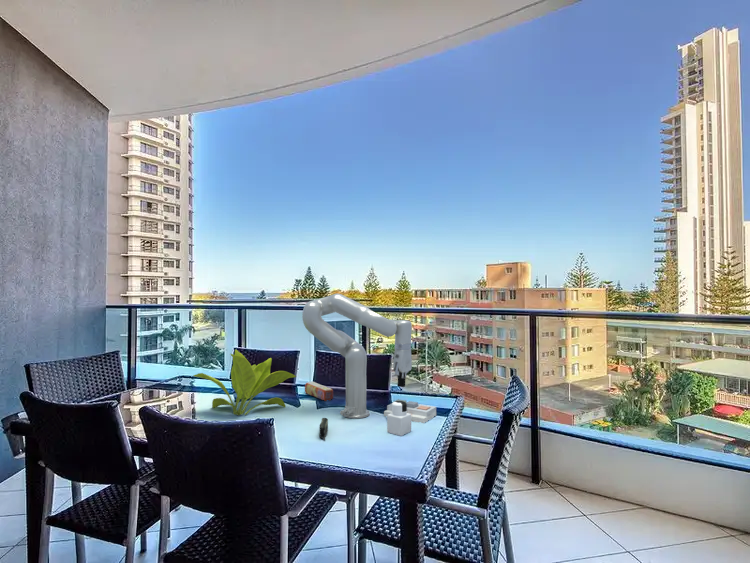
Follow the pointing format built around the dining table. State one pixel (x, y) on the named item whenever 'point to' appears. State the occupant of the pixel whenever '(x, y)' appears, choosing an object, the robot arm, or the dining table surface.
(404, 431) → the medicine bottle
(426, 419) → the white shallow tray
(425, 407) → the terracotta key
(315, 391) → the snack package
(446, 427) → the dining table surface
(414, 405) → the slate key
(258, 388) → the artificial plant
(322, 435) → the mobile phone
